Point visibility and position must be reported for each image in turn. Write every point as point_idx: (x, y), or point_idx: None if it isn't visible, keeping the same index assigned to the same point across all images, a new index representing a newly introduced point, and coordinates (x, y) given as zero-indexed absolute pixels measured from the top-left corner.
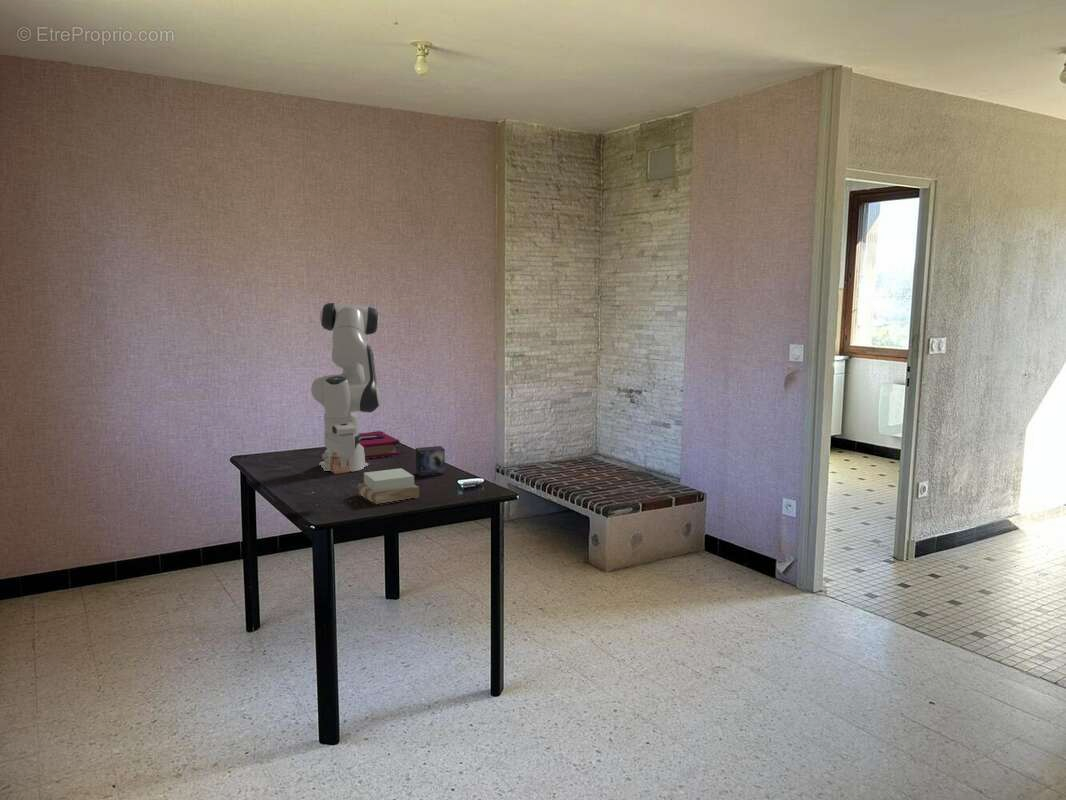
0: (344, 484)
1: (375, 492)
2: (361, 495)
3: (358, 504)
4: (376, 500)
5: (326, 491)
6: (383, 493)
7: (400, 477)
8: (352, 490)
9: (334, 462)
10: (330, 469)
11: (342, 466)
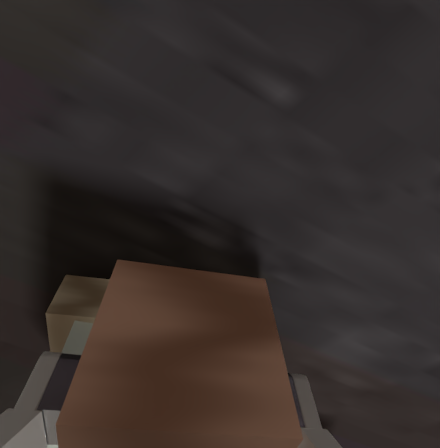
0: (432, 323)
1: (73, 321)
2: None
3: (125, 233)
4: (58, 289)
5: (427, 240)
6: (49, 335)
7: (55, 446)
8: (338, 307)
9: (86, 370)
10: (258, 289)
11: (41, 366)
